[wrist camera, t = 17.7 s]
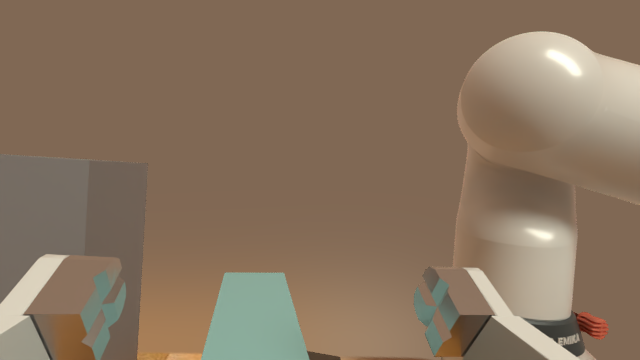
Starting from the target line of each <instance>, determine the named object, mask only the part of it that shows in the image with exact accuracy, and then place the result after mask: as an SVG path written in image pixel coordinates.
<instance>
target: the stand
mask: <svg viewBox="0 0 640 360" xmlns="http://www.w3.org/2000/svg"><path fill="white" fill-rule="evenodd" d="M147 171H148V164H147V163H133V162H132V163H131V162H116V161H102V160H87V159H71V158H55V157H38V156H21V155H4V154H0V304H1V303H2V301H3V300H4V299H5V298H6V297H7V295H8V294H9V293H10V292H11V291H12V289H13V288H14V287H15V286H16V285H17V283H18V282H19V281H20V280H21V279H22V278H23V276H24V275H25V274H26V273H27V272H28V270H29V269H30V268H31V267H32V266H33V264H34V263H35V262H36V261H37V260H38V259H39V258H40V257H42V256H44V255H46V254H54V255H80V256H99V257H116V258H119V259H120V263H121V266H122V269H121V271H120V273H119V275H118V276H119V277H120V278H122V279H123V280H124V281H125V285H126V298H125V303H124V307H123V310H122V312H121V315H120V317H119V319H118V320H117V321H116V322H115V323H114V324H112V325H111V326H110V327H108V330H109V334H110V339H109V341H108V343H107V346H106V348H105V350H104V352H103V354H102V356H101V359H100V360H137V348H138V330H139V313H140V295H141V277H142V276H141V275H142V259H143V242H144V224H145V205H146V188H147Z"/></svg>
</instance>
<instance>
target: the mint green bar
mask: <svg viewBox="0 0 640 360" xmlns="http://www.w3.org/2000/svg"><path fill="white" fill-rule="evenodd" d="M201 360H309V356H308V353H307V350H306V346H305V343H304V339H303V336H302V333H301V329H300V326H299V323H298V319H297V316H296V312H295V309H294V306H293V302H292V299H291V295H290V292H289V289H288V285H287V282H286V279H285V275H284V273H225V274H224V278H223V281H222V285H221V289H220V292H219V296H218V300H217V303H216V307H215V311H214V314H213V318H212V321H211V325H210V329H209V333H208V336H207V340H206V343H205V347H204V351H203V354H202V358H201Z"/></svg>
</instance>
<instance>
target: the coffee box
mask: <svg viewBox="0 0 640 360" xmlns="http://www.w3.org/2000/svg"><path fill="white" fill-rule="evenodd" d="M307 353H308V356H309V360H340V357H338V356H332V355H326V354H320V353H315V352H308V351H307Z"/></svg>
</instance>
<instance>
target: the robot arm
mask: <svg viewBox="0 0 640 360" xmlns="http://www.w3.org/2000/svg"><path fill="white" fill-rule="evenodd" d="M457 118H458V123H459V127H460V130H461V132H462V134H463V136H464V138H465V139H466V140H467V142H468V150H467V159H466V167H465V174H464V181H463V187H462V193H461V199H460V204H459V210H458V214H457V219H456V232H455V245H454V258H453V267H428V268H427V269H426V270H425V272H424V274H423V278H424V280H425V282H423V283H422V284H420V285H419V286H418V287H417V289H416V292H415V294H414V306H415V311H416V314H417V316H418V319H419V320H420V321H421V322H422V323H423V324H424V325H426V326H427V327H426V331H425V335H426V338H427V341H428V343H429V345H430V348H431V350H432V352H433V355H434V357H442V359H441V360H597V359H595V358H594V357H593V356H592V355H591V354H590V353H589V352H588V351H587V350H586V349H585V346H584V342H583V339H582V335H581V331H583V332H586V333H588V334H589V335H590V336H592V337H594V338H596V339H603V338H604V337H605V336H604V335H606V334H607V333H608V332H606V331H608V330H609V329H608V328H607V326H608V324H606V323H605V322H606V321H605V320H603V319H601V318H598V317H594V316H591V315H590V314H589V313H587V312H582V313H580V314H577V313H575V312H573V311H572V310H571V308H572V296H573V284H574V272H575V260H576V248H577V236H578V230H577V223H576V206H575V185H576V186H579V187H583V188H586V189H589V190H592V191H596V192H599V193H602V194H606V195H609V196H613V197H615V198H619V199H622V200H625V201H628V202H631V203H634V204H637V205H640V65H637V64H633V63H630V62H626V61H623V60H619V59H615V58H611V57H607V56H604V55H600V54H597V53H595V52H593V51H591V50H590V49H588V48H587V47H586V46H585V45H583V44H582V43H580V42H579V41H577V40H575V39H573V38H571V37H569V36H566V35H563V34H559V33H554V32H530V33H525V34H520V35H516V36H513V37H511V38H508V39H506V40H503V41H502V42H500V43H498V44H496V45H494V46H493V47H491V48H490V49H489V50H487V51H486V52H485V53H484V54H483V55H482V56H481V57H480V58H479V59H478V60H477V61H476V62H475V63H474V65H473V66H472V67H471V69H470V70H469V72H468V74H467V76H466V78H465V80H464V83H463V85H462V87H461V91H460V94H459V99H458V105H457ZM121 269H122V266H121V263H120V259H119V258H116V257H99V256H80V255H54V254H46V255H44V256H42V257H40V258H39V259H38V260H37V261H36V262H35V263H34V264H33V266H32V267H31V268H30V269H29V270H28V272H27V273H26V274H25V275H24V276H23V278H22V279H21V280H20V281H19V282H18V283H17V285H16V286H15V287H14V288H13V289H12V291H11V292H10V293H9V294H8V295H7V297H6V298H5V299H4V300H3V301H2V303H1V304H0V360H100V359H101V356H102V354H103V352H104V350H105V348H106V346H107V343H108V341H109V339H110V334H109V330H108V327H110V326H111V325H112V324H114V323H115V322H116V321H117V320H118V319H119V317H120V315H121V312H122V310H123V307H124V303H125V298H126V285H125V281H124V280H123V279H122V278H120V277H119V276H118V275H119V273H120V271H121Z"/></svg>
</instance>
